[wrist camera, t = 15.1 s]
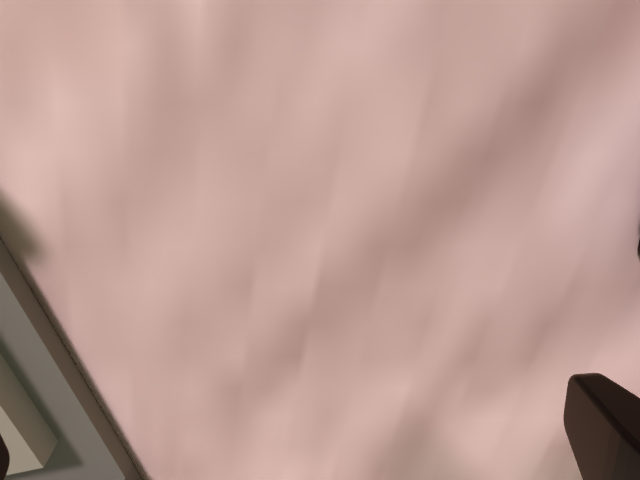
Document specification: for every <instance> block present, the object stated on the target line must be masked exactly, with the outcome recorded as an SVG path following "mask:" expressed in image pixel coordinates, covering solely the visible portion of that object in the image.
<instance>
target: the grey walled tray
mask: <svg viewBox="0 0 640 480" xmlns="http://www.w3.org/2000/svg"><path fill="white" fill-rule="evenodd" d="M0 434H1V436H2V438H3V440H4V442H5V444H6V446H7V448H8V451H9V455H10V463H9V468H8V471H7V474H6V477H5V479H4V480H143V479H142V477H141V476H140V474H139V472H138V471H137V469H136V467H135V466H134V464H133V462H132V460H131V459H130V457H129V455H128V454H127V452H126V450H125V449H124V447H123V445H122V443H121V442H120V440H119V438H118V437H117V435H116V433H115V432H114V430H113V428H112V427H111V425H110V423H109V421H108V420H107V418H106V416H105V415H104V413H103V411H102V410H101V408H100V406H99V404H98V403H97V401H96V399H95V398H94V396H93V394H92V393H91V391H90V389H89V387H88V386H87V384H86V382H85V381H84V379H83V377H82V376H81V374H80V372H79V370H78V369H77V367H76V365H75V364H74V362H73V360H72V359H71V357H70V355H69V353H68V352H67V350H66V348H65V347H64V345H63V343H62V342H61V340H60V338H59V337H58V335H57V333H56V331H55V330H54V328H53V326H52V325H51V323H50V321H49V320H48V318H47V316H46V314H45V313H44V311H43V309H42V308H41V306H40V304H39V303H38V301H37V299H36V297H35V296H34V294H33V292H32V291H31V289H30V287H29V286H28V284H27V282H26V280H25V279H24V277H23V275H22V274H21V272H20V270H19V269H18V267H17V265H16V263H15V262H14V260H13V258H12V257H11V255H10V253H9V252H8V250H7V248H6V247H5V245H4V243H3V241H2V240H1V238H0Z"/></svg>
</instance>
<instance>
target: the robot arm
mask: <svg viewBox="0 0 640 480" xmlns="http://www.w3.org/2000/svg"><path fill="white" fill-rule="evenodd" d="M638 254H639V255H640V240H639V245H638ZM564 426H565V430H566V433H567V436H568V439H569V442H570V445H571V447H572V450H573V453H574V456H575V459H576V461H577V464H578V467H579V470H580V473H581V476H582V478H583V480H640V398H639V397H637V396H636V395H634V394H632V393H631V392H629V391H628V390H626V389H624V388H623V387H621V386H620V385H618V384H616V383H615V382H613V381H612V380H610V379H609V378H607V377H605V376H604V375H602V374H599V373H588V374H575V375H573V376H571V377H570V379H569V381H568V387H567V394H566V401H565V409H564ZM9 463H10V455H9V451H8V448H7V446H6V444H5V442H4V440H3V438H2V436H1V434H0V480H4V479H5V477H6V474H7V471H8V468H9Z"/></svg>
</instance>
